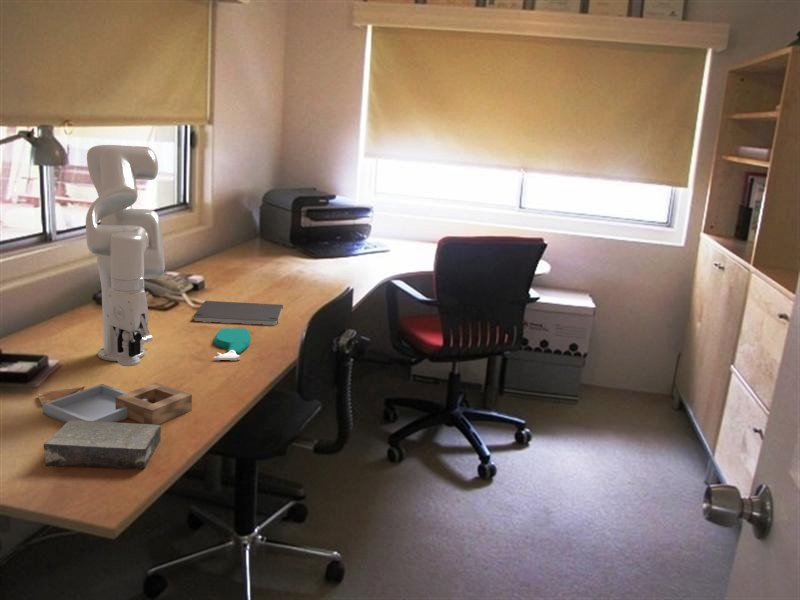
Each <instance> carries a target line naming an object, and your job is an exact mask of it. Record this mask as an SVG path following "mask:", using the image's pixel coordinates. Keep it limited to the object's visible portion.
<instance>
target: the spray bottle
mask: <svg viewBox="0 0 800 600" xmlns="http://www.w3.org/2000/svg"><path fill="white" fill-rule="evenodd" d="M251 338H252V336H251V333H250V331H249V330H248V329H247V328H245V327H244V328H236V327H229V328H228V327H223V328H221V329H219V330H218V331H217V333H216V335H215V336H214V340H213V343H214V345H215V346H216V347H218V346H219V347H218V348H220V347H222V348H221V349H225V348H228V349H226V351H225V352H224V353H221V352H216V354H217V356H213V361H220V360H230V361H238V360H237V359H240V360H241V355H240V354H242V353H243V352H244V351H245V350H247V349H248V347H249V346H250V343H251ZM246 348H247V349H246ZM242 351H243V352H242Z"/></svg>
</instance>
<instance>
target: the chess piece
mask: <svg viewBox="0 0 800 600" xmlns="http://www.w3.org/2000/svg"><path fill="white" fill-rule="evenodd" d="M134 333H135V332H134ZM135 335H136V333H135ZM122 338H123V341H122V344H123V345H122V347H123V350H124V356H122V357H121V358H119V359H118V361H117V364H118V365H119V366H122V367H134V366H137V365H139V364H140V363H141V357H140V358H138V357H137V356H133V357H130V356H129V345H128V343H129V342H130V333H129V332H128V331H124V332H123V333H122Z"/></svg>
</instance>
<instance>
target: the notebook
mask: <svg viewBox="0 0 800 600" xmlns="http://www.w3.org/2000/svg"><path fill="white" fill-rule="evenodd" d="M283 309H284V304H279V303H278V304H276V303H257V302H256V303H255V302H236V301H235V302H234V301H220V300H219V301H218V300H217V301H216V300H215V301H214V300H205V301H204V302H203V303H202V304H201V305H200V307H199V308H198V309H197V310H196V312H195V313H194V314H193V317H192V318H193V321H194V320H195V321H203V322H202V323H211V322H221V323H220V324H231V323H242V324H241V325H251V324H263V325H262V326H272V325H274V326H276V324H277V325H278V324H279V319H280V317H279V316H281V314H280V313H282V311H283ZM281 310H282V311H281ZM195 321H194V322H195ZM204 321H205V322H204Z"/></svg>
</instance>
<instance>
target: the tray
mask: <svg viewBox="0 0 800 600" xmlns="http://www.w3.org/2000/svg"><path fill="white" fill-rule="evenodd" d="M126 393H128V392H127V391H124V390H120V389H118V388H115V387H112V386H110V385H107V384H104V383H100V384H98V385H97V384H96V385H94V386H91V387H88V388H84V390H82V391H79V392H76V393H73V394H70V395H67V396H65V397H62V398H59V399H56V400H53V401H50V402H47V403H44V404H43V406H42V411H43V412H42V414H43V415H45V416H47V417H49V418H53V419H55V420H57V421H60V422H63V423H64V424H66V423H67V422H68V421H69V420H85V421H102V422H119V423H120V421H124V420H126V419H129V418H128V408H127V407H122V408H120V409H117V410H116V404H115V397H118V396H120V395H123V394H126ZM142 400H144V401H147V402H148V400H147V399H142Z"/></svg>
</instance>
